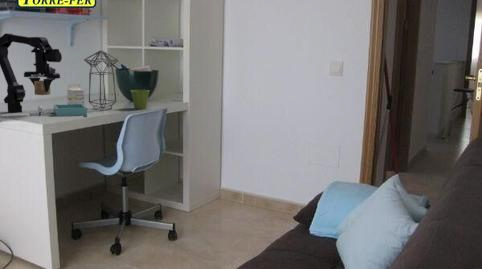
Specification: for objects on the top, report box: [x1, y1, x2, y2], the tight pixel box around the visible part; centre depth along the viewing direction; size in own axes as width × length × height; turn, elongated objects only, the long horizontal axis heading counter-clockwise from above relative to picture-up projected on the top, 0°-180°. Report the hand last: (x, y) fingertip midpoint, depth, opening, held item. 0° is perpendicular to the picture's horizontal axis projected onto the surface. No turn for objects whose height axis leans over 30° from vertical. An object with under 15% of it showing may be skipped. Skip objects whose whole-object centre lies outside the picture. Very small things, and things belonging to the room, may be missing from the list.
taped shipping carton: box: [33, 80, 51, 96], centre depth 251 cm, size 5×5×7 cm
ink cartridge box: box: [67, 83, 85, 106], centre depth 284 cm, size 9×5×15 cm, turn 141°
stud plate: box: [29, 105, 52, 117], centre depth 253 cm, size 10×10×5 cm
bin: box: [53, 104, 88, 118], centre depth 260 cm, size 15×15×5 cm
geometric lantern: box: [83, 50, 119, 111], centre depth 284 cm, size 16×16×35 cm
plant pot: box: [130, 89, 150, 110], centre depth 296 cm, size 12×12×11 cm
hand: (42, 91), depth 251 cm, fingers closed on taped shipping carton, 5 cm apart
